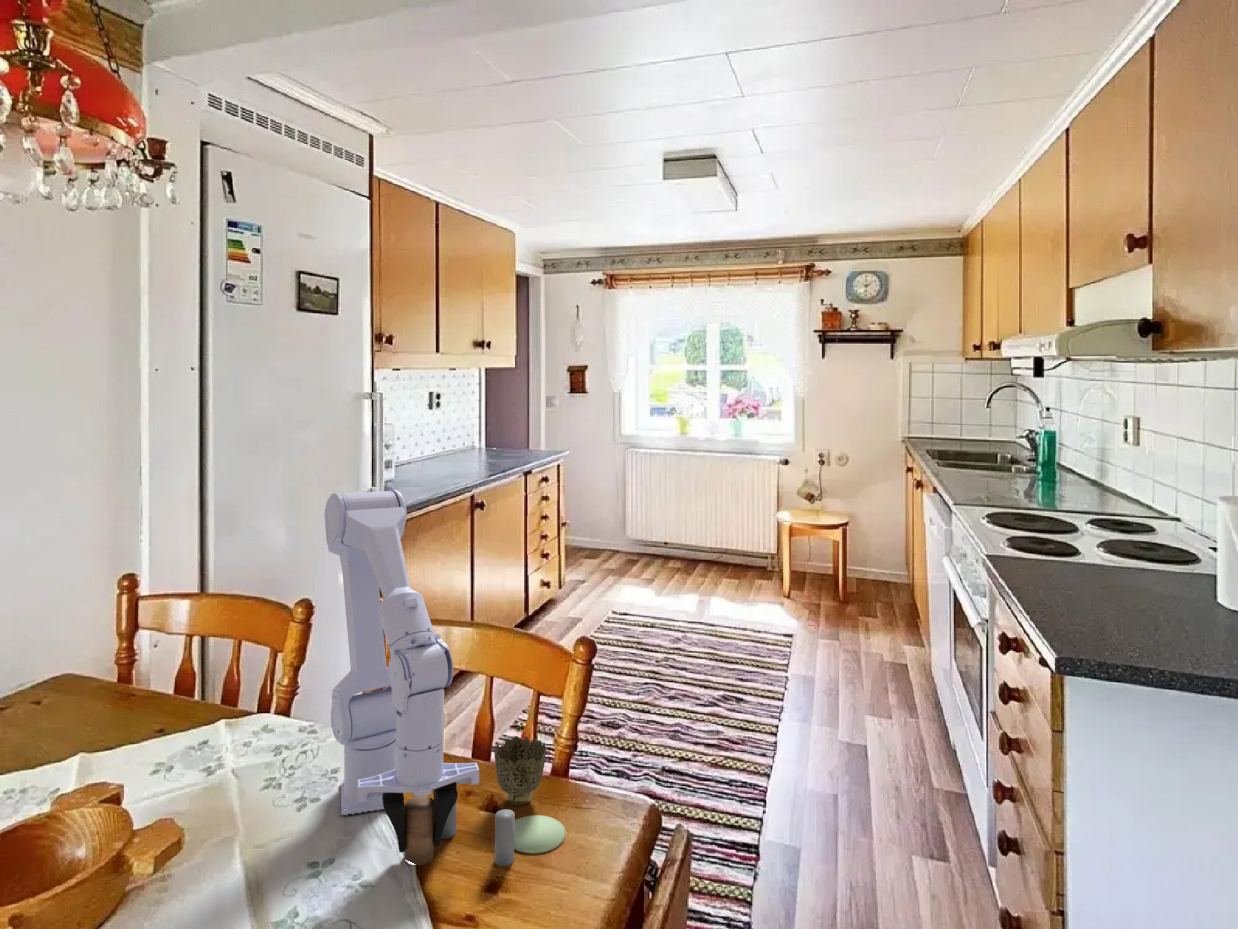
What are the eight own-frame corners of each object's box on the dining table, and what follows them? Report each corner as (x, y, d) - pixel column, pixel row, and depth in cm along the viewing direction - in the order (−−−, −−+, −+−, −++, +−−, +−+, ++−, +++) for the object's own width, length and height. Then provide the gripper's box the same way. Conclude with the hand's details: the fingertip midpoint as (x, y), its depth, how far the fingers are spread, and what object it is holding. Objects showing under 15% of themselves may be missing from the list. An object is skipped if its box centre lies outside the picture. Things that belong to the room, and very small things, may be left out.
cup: (520, 781, 112) (521, 730, 112) (555, 799, 108) (557, 746, 107) (482, 801, 107) (483, 747, 106) (517, 821, 102) (518, 765, 101)
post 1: (436, 830, 99) (437, 787, 99) (454, 826, 100) (455, 784, 100) (438, 840, 97) (439, 796, 97) (457, 837, 98) (458, 793, 97)
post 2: (492, 856, 94) (493, 811, 94) (511, 852, 95) (512, 808, 94) (496, 868, 92) (497, 821, 91) (515, 864, 93) (516, 818, 92)
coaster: (499, 824, 101) (499, 821, 101) (555, 814, 104) (555, 811, 104) (512, 858, 94) (512, 855, 94) (572, 846, 97) (572, 843, 97)
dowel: (402, 851, 95) (403, 798, 94) (431, 846, 96) (432, 794, 95) (405, 868, 91) (405, 814, 91) (435, 862, 93) (436, 809, 92)
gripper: (359, 764, 86) (358, 875, 87) (484, 746, 91) (482, 852, 92) (357, 737, 92) (357, 841, 94) (474, 722, 98) (472, 821, 99)
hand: (419, 844), depth 93 cm, fingers closed on dowel, 4 cm apart
